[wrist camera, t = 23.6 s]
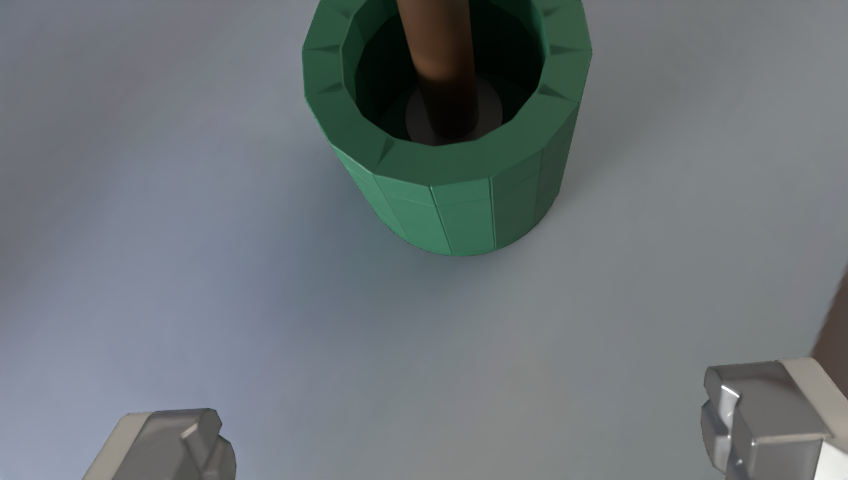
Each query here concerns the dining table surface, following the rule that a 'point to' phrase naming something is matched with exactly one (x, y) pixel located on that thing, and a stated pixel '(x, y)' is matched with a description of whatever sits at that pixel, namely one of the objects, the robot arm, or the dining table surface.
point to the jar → (461, 162)
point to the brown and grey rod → (446, 76)
